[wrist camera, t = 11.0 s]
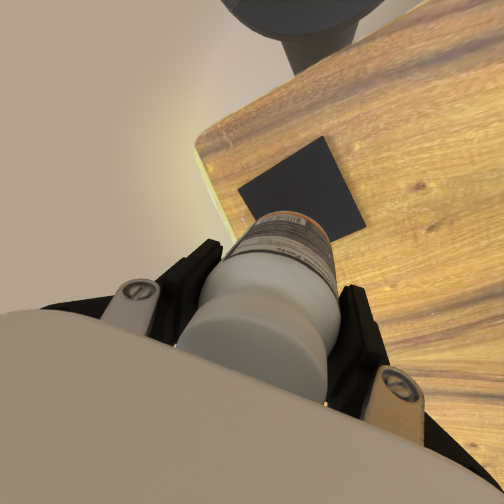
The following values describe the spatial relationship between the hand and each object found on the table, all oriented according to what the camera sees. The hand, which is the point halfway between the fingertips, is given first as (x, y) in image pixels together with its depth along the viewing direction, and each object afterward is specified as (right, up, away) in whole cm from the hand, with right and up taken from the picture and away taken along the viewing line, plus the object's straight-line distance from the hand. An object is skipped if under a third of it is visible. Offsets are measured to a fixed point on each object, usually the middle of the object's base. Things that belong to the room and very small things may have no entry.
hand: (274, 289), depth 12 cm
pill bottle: (+1, +2, +5) cm, 5 cm away
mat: (+4, +7, +15) cm, 17 cm away
